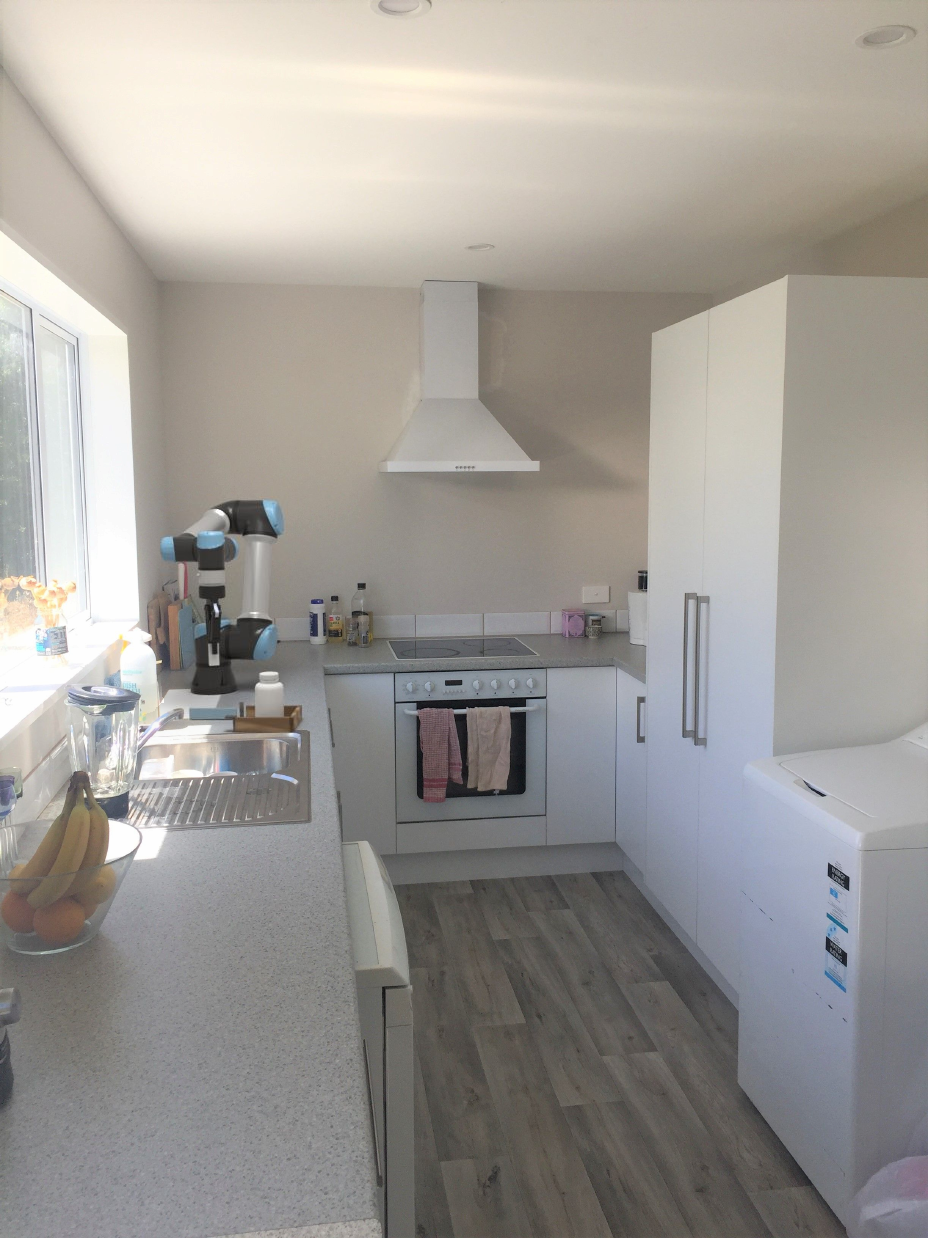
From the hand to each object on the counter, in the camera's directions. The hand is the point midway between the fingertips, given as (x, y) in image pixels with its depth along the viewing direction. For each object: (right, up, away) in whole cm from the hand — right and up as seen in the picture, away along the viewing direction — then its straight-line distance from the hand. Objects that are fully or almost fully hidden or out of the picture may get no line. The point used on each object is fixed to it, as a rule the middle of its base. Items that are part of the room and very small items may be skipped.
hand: (214, 665), depth 279 cm
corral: (+17, -17, -10) cm, 26 cm away
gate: (0, -15, -3) cm, 16 cm away
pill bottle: (+18, -17, -10) cm, 27 cm away
